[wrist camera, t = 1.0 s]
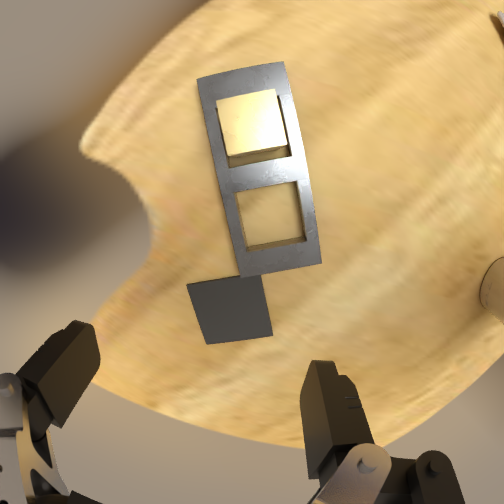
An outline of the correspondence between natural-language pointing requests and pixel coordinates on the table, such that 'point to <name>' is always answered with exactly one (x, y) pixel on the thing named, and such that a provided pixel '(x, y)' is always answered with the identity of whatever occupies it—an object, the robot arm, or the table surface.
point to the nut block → (251, 123)
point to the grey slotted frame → (261, 170)
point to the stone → (501, 17)
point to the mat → (231, 309)
